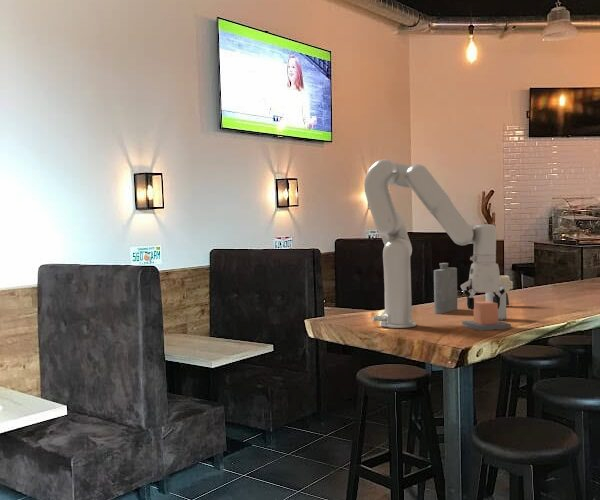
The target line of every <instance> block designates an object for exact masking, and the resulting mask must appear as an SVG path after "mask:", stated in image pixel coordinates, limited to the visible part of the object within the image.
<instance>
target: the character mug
mask: <svg viewBox="0 0 600 500" xmlns="http://www.w3.org/2000/svg"><path fill="white" fill-rule="evenodd" d="M500 281H502V282H503V283H505V284H507V287H506V289H505V291H506V306H509V305H510V302H509V301H510V300H509V295H508V293H507V292H509V291H510V289H511V290H512V289H513V288H514V287H513V285H514V282H513V280H510V276H509V275H500ZM500 287H501V285H500Z"/></svg>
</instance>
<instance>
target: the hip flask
mask: <svg viewBox="0 0 600 500" xmlns="http://www.w3.org/2000/svg"><path fill="white" fill-rule="evenodd" d="M438 266H439V269H438V268H437V269H434V270H433V291H434V292H433V296H434V297H433V301H434V302H433V303H434V315H443V314H445V313H449V312H454V311H458V268H457V267H449V262H442V263H441V262H439V265H438Z"/></svg>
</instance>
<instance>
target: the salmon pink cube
mask: <svg viewBox="0 0 600 500" xmlns="http://www.w3.org/2000/svg"><path fill="white" fill-rule="evenodd" d="M472 311H473V320H474V322H476V323H479V324H496V323H498V321H499V320H498V303H494V302H490V301H474V309H473V310H472Z"/></svg>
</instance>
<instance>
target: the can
mask: <svg viewBox="0 0 600 500" xmlns="http://www.w3.org/2000/svg"><path fill="white" fill-rule="evenodd" d="M500 289H501V287H500ZM506 293H507V291H505V292H504V293H503V294H502V296H501V297H500V306H499V309H498V321H504V320H505V319H507V305H506ZM493 296H495V295H494V294H493V293H485V301H490V302H493ZM485 301H484V302H485ZM503 319H504V320H503Z"/></svg>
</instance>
